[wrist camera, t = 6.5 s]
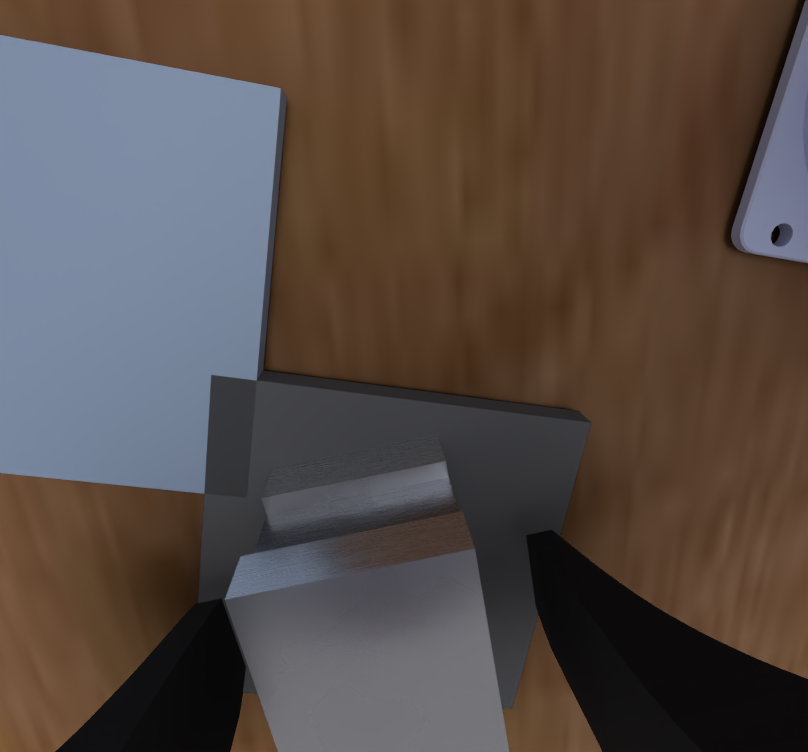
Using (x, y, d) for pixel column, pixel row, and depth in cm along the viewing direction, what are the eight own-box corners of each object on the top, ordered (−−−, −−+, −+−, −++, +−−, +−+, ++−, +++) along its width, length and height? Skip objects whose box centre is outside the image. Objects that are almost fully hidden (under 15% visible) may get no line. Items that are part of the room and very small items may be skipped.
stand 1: (287, 97, 11) (281, 88, 10) (253, 482, 13) (246, 497, 13) (-194, 7, 10) (-241, -11, 9) (-134, 441, 12) (-167, 456, 12)
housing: (472, 632, 14) (519, 810, 10) (329, 663, 14) (314, 854, 10) (437, 434, 13) (475, 548, 8) (272, 467, 12) (224, 600, 8)
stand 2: (578, 411, 14) (591, 422, 13) (505, 685, 16) (512, 708, 15) (220, 365, 12) (211, 374, 12) (201, 665, 15) (193, 689, 14)
